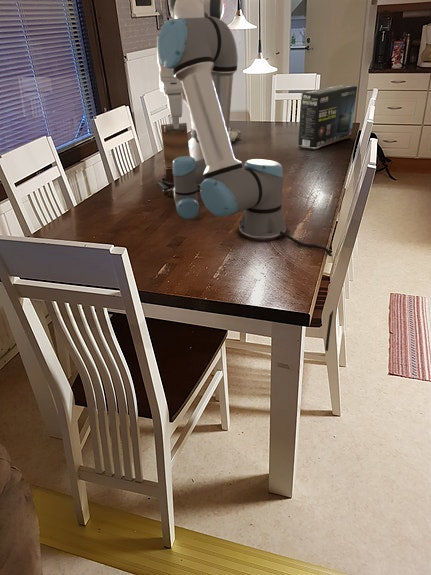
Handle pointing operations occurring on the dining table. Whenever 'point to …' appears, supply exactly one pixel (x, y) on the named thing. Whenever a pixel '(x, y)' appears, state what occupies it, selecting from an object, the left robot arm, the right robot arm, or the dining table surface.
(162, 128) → the lid
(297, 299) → the dining table surface
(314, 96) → the router box
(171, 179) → the chest
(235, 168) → the right robot arm
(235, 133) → the fossil
